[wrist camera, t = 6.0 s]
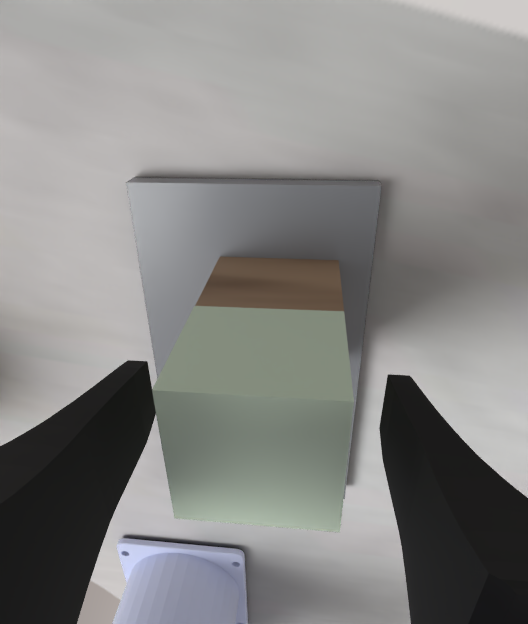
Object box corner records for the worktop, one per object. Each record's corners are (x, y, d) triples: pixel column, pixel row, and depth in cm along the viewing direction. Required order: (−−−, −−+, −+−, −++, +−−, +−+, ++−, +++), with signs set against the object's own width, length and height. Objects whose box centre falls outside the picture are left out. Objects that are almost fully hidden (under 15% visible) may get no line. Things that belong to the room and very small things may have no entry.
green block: (334, 425, 15) (339, 532, 12) (206, 417, 16) (174, 518, 12) (344, 311, 13) (354, 401, 10) (194, 305, 13) (152, 390, 10)
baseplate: (343, 486, 24) (344, 499, 23) (178, 473, 24) (174, 485, 24) (378, 180, 16) (381, 186, 15) (134, 177, 17) (125, 182, 16)
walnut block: (330, 359, 19) (333, 426, 15) (225, 353, 19) (205, 418, 16) (338, 260, 17) (344, 312, 13) (219, 256, 17) (194, 306, 13)
